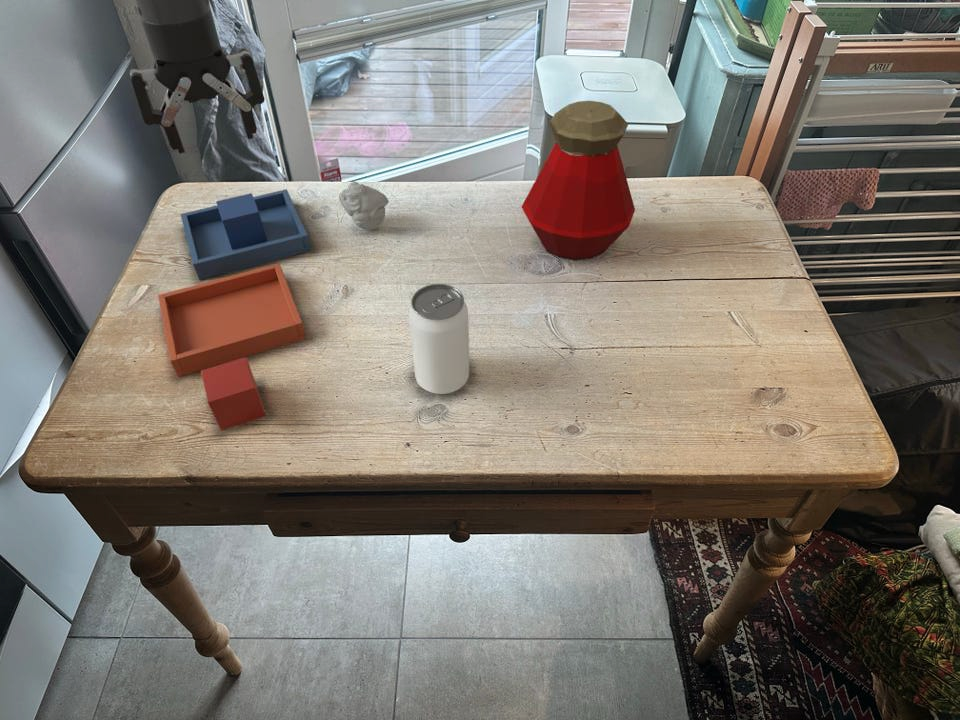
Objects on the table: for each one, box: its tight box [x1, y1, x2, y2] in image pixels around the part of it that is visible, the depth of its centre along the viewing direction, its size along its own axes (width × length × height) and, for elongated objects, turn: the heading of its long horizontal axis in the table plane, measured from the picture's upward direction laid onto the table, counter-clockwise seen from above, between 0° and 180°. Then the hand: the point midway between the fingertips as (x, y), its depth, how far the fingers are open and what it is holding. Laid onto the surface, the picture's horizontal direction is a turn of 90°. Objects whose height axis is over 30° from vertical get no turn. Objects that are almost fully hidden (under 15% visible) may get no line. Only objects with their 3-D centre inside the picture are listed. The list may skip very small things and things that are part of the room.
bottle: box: [521, 100, 636, 261], centre depth 91 cm, size 16×14×20 cm
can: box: [408, 283, 470, 395], centre depth 76 cm, size 6×6×12 cm
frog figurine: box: [338, 181, 389, 231], centre depth 98 cm, size 6×7×7 cm
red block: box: [200, 356, 266, 431], centre depth 75 cm, size 5×5×5 cm
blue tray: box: [180, 188, 312, 281], centre depth 97 cm, size 16×13×3 cm
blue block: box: [215, 193, 267, 249], centre depth 96 cm, size 5×5×5 cm
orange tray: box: [157, 262, 307, 378], centre depth 85 cm, size 16×13×3 cm
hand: (215, 143), depth 86 cm, fingers open, 8 cm apart
